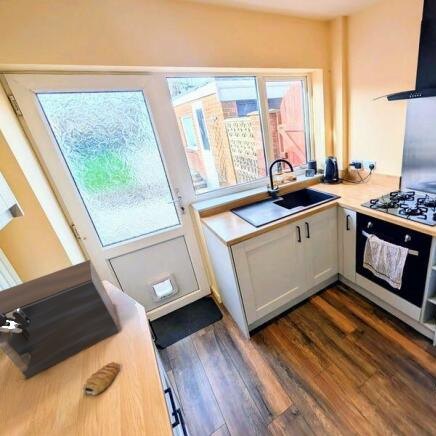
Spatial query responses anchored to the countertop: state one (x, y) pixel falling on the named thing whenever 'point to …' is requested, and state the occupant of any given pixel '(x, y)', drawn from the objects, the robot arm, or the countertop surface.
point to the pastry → (101, 379)
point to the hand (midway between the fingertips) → (6, 349)
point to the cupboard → (54, 288)
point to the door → (59, 328)
